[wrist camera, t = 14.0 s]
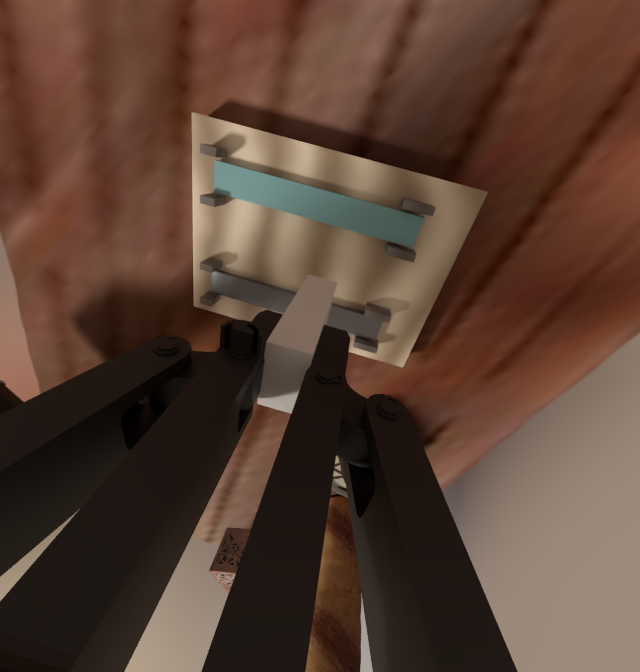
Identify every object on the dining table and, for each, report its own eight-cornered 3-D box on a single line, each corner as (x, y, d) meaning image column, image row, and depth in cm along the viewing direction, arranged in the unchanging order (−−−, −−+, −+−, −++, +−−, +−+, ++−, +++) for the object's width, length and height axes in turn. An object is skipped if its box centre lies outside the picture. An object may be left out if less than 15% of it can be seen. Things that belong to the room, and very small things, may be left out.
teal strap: (217, 191, 32) (213, 191, 31) (218, 160, 30) (214, 160, 30) (411, 245, 31) (412, 247, 30) (423, 216, 29) (424, 217, 29)
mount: (204, 297, 43) (183, 313, 38) (207, 116, 31) (177, 107, 27) (401, 355, 42) (404, 378, 37) (479, 189, 30) (497, 194, 26)
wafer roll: (364, 526, 66) (343, 1020, 28) (318, 515, 67) (239, 976, 29) (372, 500, 61) (359, 1069, 23) (322, 489, 62) (230, 1013, 24)
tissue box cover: (318, 532, 72) (310, 581, 63) (331, 561, 78) (325, 609, 70) (227, 526, 78) (209, 570, 70) (246, 554, 85) (231, 597, 77)
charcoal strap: (214, 289, 38) (211, 292, 38) (214, 268, 37) (211, 270, 36) (375, 337, 37) (375, 340, 37) (383, 317, 36) (383, 320, 35)
